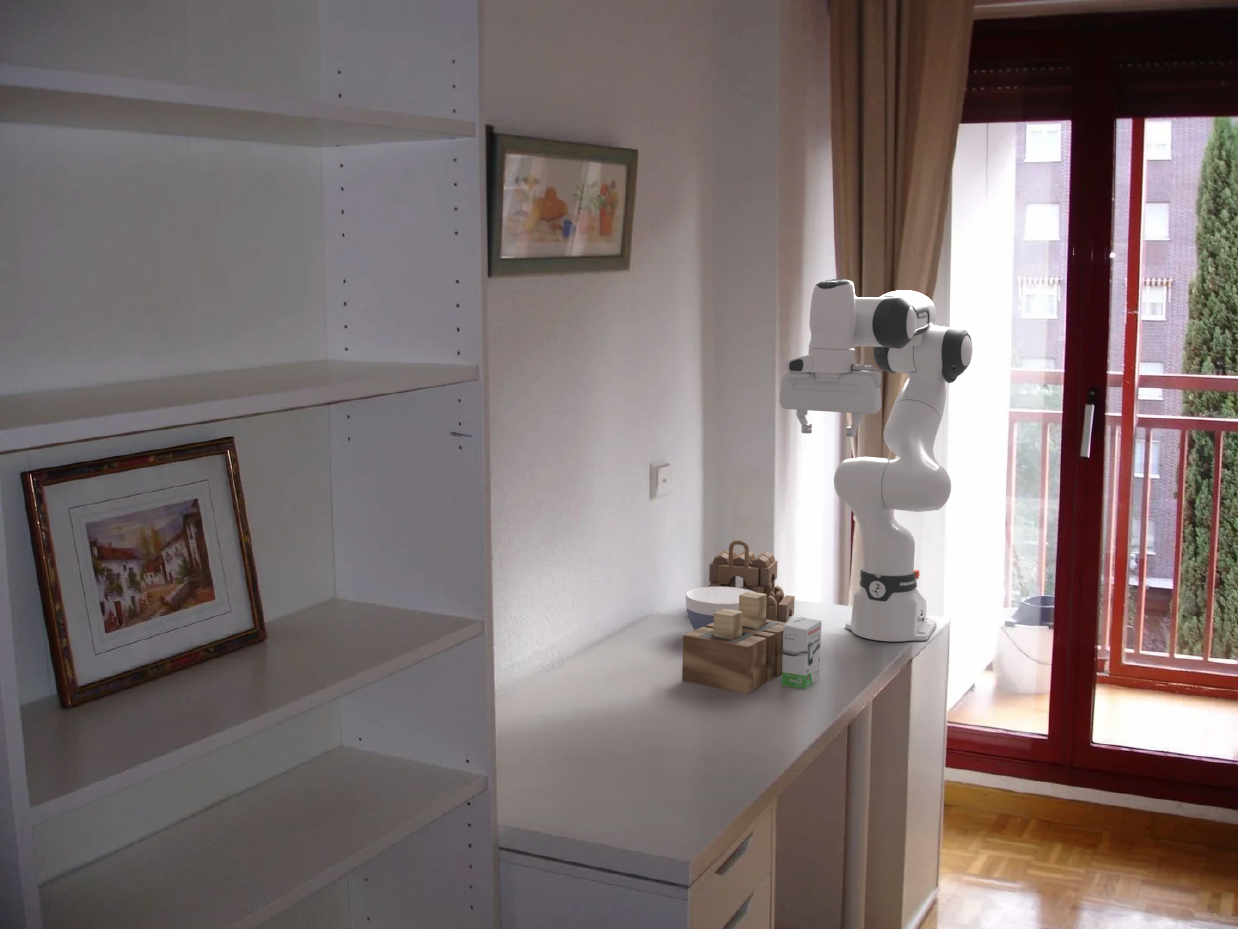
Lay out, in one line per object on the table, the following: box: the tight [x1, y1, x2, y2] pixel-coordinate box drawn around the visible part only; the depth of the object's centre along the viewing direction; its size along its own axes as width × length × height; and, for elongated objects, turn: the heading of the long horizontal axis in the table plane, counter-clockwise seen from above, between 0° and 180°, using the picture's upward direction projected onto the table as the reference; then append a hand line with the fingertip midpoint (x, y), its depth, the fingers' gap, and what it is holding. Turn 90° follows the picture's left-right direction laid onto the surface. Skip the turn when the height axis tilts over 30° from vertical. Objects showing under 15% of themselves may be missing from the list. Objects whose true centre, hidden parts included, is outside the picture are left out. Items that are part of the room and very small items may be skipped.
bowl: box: [685, 586, 753, 630], centre depth 266 cm, size 16×16×10 cm
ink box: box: [781, 616, 822, 690], centre depth 234 cm, size 9×5×12 cm, turn 151°
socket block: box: [681, 620, 787, 695], centre depth 239 cm, size 20×14×9 cm
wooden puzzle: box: [706, 539, 796, 623], centre depth 286 cm, size 22×15×19 cm, turn 71°
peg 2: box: [739, 592, 767, 629], centre depth 242 cm, size 4×4×9 cm
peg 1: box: [713, 609, 742, 640], centre depth 234 cm, size 4×4×9 cm
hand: (828, 434), depth 239 cm, fingers open, 8 cm apart
